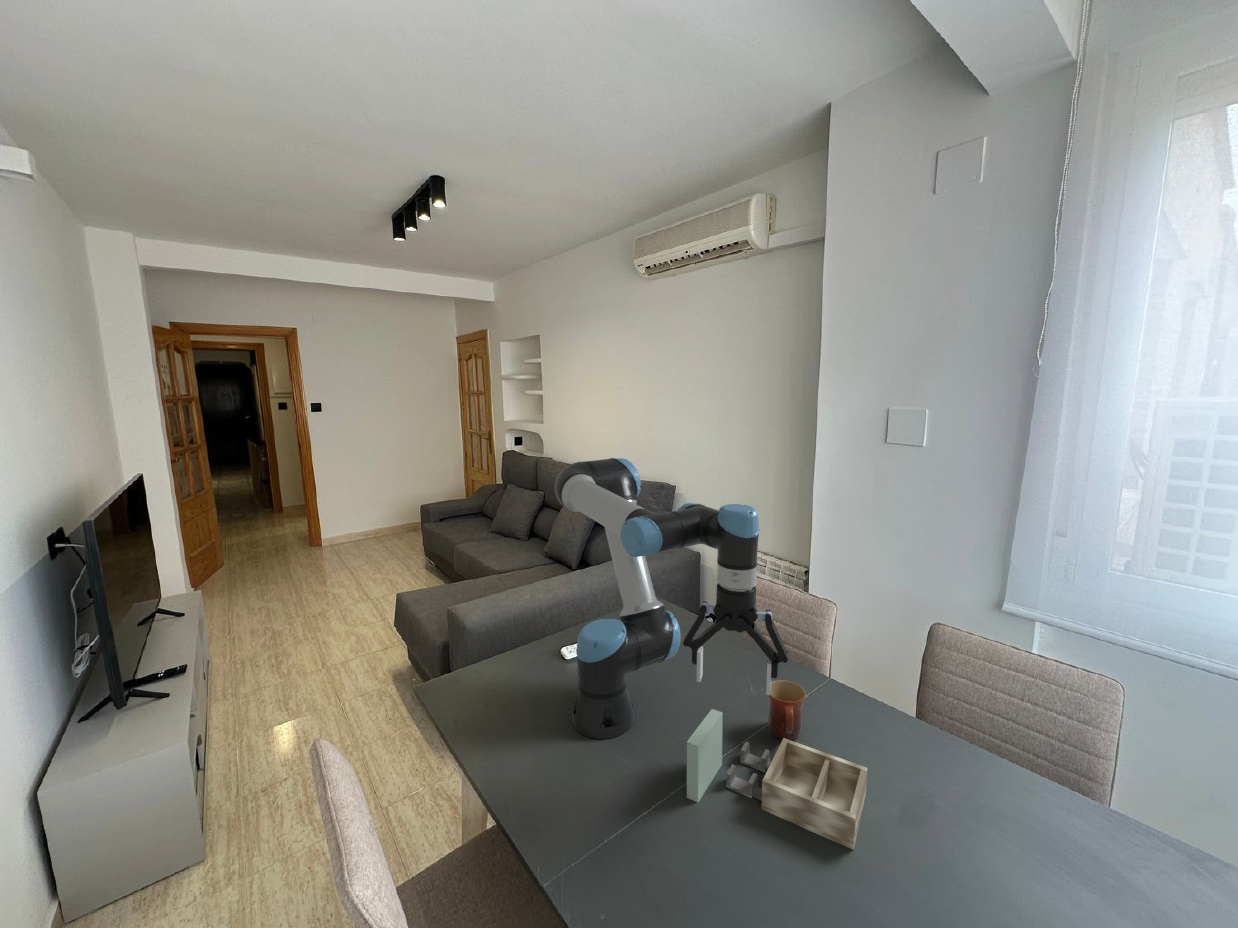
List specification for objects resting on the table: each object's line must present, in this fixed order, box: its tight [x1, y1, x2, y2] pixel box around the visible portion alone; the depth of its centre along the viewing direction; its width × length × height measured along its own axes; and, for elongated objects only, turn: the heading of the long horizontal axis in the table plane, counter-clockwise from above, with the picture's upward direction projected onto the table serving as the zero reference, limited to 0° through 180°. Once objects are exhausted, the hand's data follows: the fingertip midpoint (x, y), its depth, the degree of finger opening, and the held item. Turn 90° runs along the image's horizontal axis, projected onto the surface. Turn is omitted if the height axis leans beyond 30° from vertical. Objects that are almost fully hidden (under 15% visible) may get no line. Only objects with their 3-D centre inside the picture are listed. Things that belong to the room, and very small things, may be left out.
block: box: [686, 708, 724, 803], centre depth 103 cm, size 3×12×12 cm, turn 146°
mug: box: [767, 679, 807, 741], centre depth 115 cm, size 12×9×10 cm
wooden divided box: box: [726, 738, 868, 851], centre depth 99 cm, size 24×14×6 cm, turn 56°
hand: (733, 684), depth 102 cm, fingers open, 13 cm apart
